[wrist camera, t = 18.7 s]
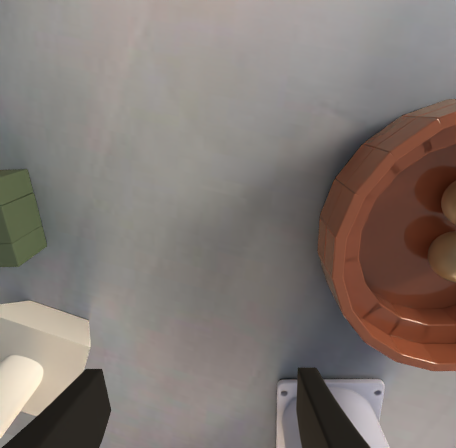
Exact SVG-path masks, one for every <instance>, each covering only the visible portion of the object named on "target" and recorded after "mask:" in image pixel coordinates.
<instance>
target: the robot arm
mask: <svg viewBox="0 0 456 448" xmlns="http://www.w3.org/2000/svg"><path fill="white" fill-rule="evenodd" d="M384 389H385V385H384V383H383V382H382V380H380V379H323V378H322V377H321V375H320V373H319V371H318V370H317V369H316V368H298V379H287V380H280V381H278V383H277V412H276V448H390V447H389V445H388V443H387V440H386V438H385V436H384V434H383V431H382V429H381V427H380V424H379V420H380V414H381V408H382V401H383V395H384ZM377 390H378V391H377ZM282 391H284V392H282ZM110 412H111V407H110V403H109V398H108V394H107V389H106V385H105V380H104V375H103V371H102V369H86V370H85V371H83V372H82V373H81V374H80V375H79V376H78V377H77V378H76V379H75V380H74V381H73V382H72V383H71V384H70V385H69V386H68V387H67V388H66V389H65V390H64V391H63V392H62V393H61V394H60V395H59V396H58V397H57V398H56V399H55V400H54V401H53V402H52V403H51V404H49V405H48V406H47V407H46V408H45V409H44V410H43V411H42V412H41V413H40V414H39V415H38V416H37V417H36V418H35V419H34V420H33V421H31V422H30V423H29V424H28V425H27V426H26V427H25V428H24V429H22V430H21V431H20V432H19V433H18V434H17V435H16V436H15V437H13V438H12V439H11V440H10V441H9V442H8V443H7V444H6V445H4V446H3V447H2V448H99V447H100V444H101V442H102V439H103V436H104V433H105V429H106V426H107V423H108V419H109V416H110Z"/></svg>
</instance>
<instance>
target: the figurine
mask: <svg viewBox="0 0 456 448" xmlns="http://www.w3.org/2000/svg"><path fill="white" fill-rule="evenodd" d="M90 348H91V344H90V330H89V320H86V319H83V318H80V317H77V316H74V315H71V314H68V313H65V312H62V311H59V310H56V309H53V308H50V307H48V306H45V305H42V304H39V303H36V302H33V301H23V302H15V303H8V304H0V438H1V437H2V436H3V434H4V433H5V432H6V430H7V429H8V427H9V426H10V425H11V423H12V422H13V420H14V419H15V418H16V416H17V415H18V414H19V412H20V411H22V412H25V413H28V414H31V415H35V416H38V415H39V414H40V413H41V412H42V411H43V410H44V409H45V408H46V407H47V406H48V405H49V404H51V403H52V402H53V401H54V400H55V399H56V398H57V397H58V396H59V395H60V394H61V393H62V392H63V391H64V390H65V389H66V388H67V387H68V386H69V385H70V384H71V383H72V382H73V381H74V380H75V379H76V378H77V377H78V376H79V375H80V374H81V373H82V372H83V371H84V368H85V364H86V361H87V358H88V355H89V351H90Z"/></svg>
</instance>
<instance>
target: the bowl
mask: <svg viewBox="0 0 456 448" xmlns="http://www.w3.org/2000/svg"><path fill="white" fill-rule="evenodd" d="M454 181H456V99H448V100H444V101H441V102H438V103H435V104H433V105H430V106H427V107H424V108H422V109H419V110H416V111H413V112H410V113H408V114H405V115H402V116H401V117H399V118H398V119H397V120H395V121H394V122H392V123H391V124H390V125H388V126H387V127H385V128H384V129H383V130H381V131H380V132H378V133H377V134H376V135H374V136H373V137H371V138H370V139H369V140H367V141H366V142H364V144H362V145H361V146H360V148H359V149H358V150H357V151H356V153H355V154H354V155H353V156H352V158H351V159H350V160H349V161H348V163H347V164H346V165H345V166H344V168H343V169H342V170H341V171H340V173H339V174H338V175H337V176H336V178H335V179H334V181H333V184H332V186H331V189H330V191H329V194H328V196H327V199H326V201H325V204H324V206H323V209H322V211H321V214H320V219H319V236H318V255H319V259H320V262H321V265H322V269H323V272H324V275H325V278H326V282H327V284H328V286H329V288H330V290H331V292H332V294H333V296H334V298H335V300H336V302H337V304H338V306H339V308H340V310H341V312H342V314H343V316H344V317H345V318H346V319H347V321H348V322H349V323H350V325H351V326H352V327H353V328H354V330H355V331H356V332H357V333H358V335H359V336H360V337H361V339H362V340H363V341H364V342H365V343H366V344H368V345H370V346H371V347H373V348H374V349H376V350H378V351H379V352H381V353H382V354H384V355H386V356H387V357H389V358H391V359H392V360H394V361H396V362H399V363H403V364H407V365H411V366H415V367H419V368H422V369H426V370H430V371H456V283H455V282H451V281H448V280H445V279H443V278H441V277H440V276H438V275H437V274H436V273H435V272H434V271H433V270H432V268H431V266H430V264H429V262H428V249H429V247H430V245H431V243H432V242H433V241H434V240H435V239H436V238H437V237H438V236H440V235H442V234H444V233H447V232H452V231H456V225H454V224H453V223H451V222H450V221H449V220H448V219H447V218H446V217H445V215H444V213H443V211H442V207H441V199H442V196H443V193H444V192H445V190H446V189H447V187H448V186H449V185H450V184H452V183H453V182H454Z"/></svg>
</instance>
